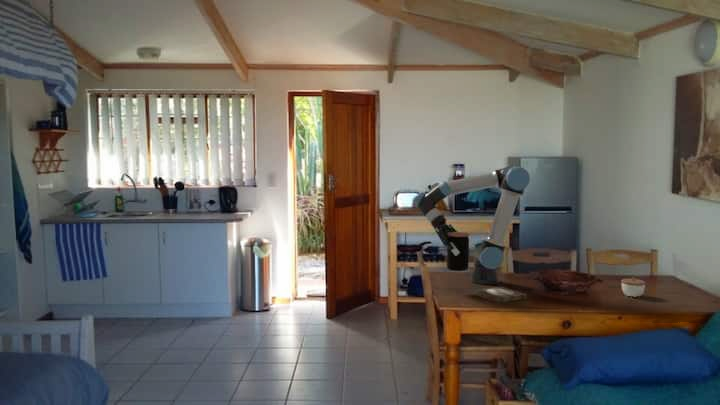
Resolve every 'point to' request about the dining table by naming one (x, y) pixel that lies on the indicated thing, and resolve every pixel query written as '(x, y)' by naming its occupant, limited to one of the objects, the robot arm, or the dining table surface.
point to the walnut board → (500, 294)
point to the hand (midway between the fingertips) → (463, 252)
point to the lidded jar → (633, 287)
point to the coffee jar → (462, 245)
